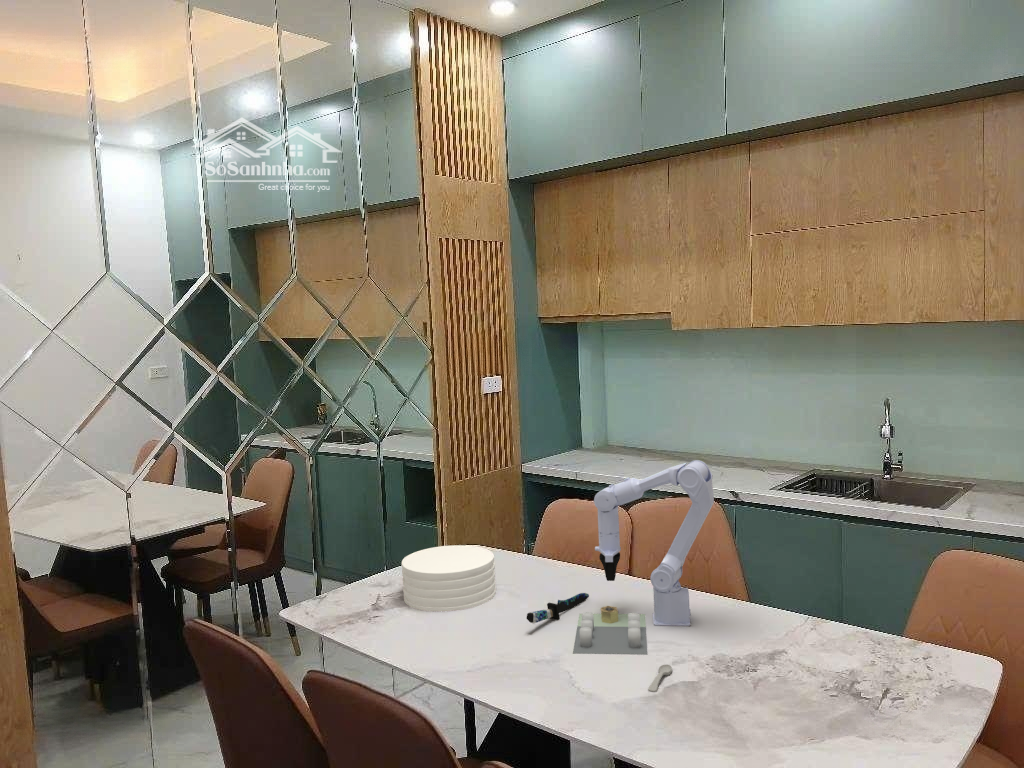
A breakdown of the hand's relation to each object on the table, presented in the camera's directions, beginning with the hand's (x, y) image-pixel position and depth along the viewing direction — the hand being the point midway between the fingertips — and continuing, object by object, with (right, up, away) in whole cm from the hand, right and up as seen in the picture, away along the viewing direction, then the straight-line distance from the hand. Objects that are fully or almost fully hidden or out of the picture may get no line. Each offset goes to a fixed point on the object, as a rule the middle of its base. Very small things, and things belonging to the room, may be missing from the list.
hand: (610, 580), depth 213 cm
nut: (-1, -10, -5) cm, 11 cm away
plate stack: (-46, -11, +22) cm, 52 cm away
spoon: (+6, -13, -40) cm, 43 cm away
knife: (-14, -10, +1) cm, 17 cm away
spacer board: (-2, -11, -13) cm, 17 cm away
